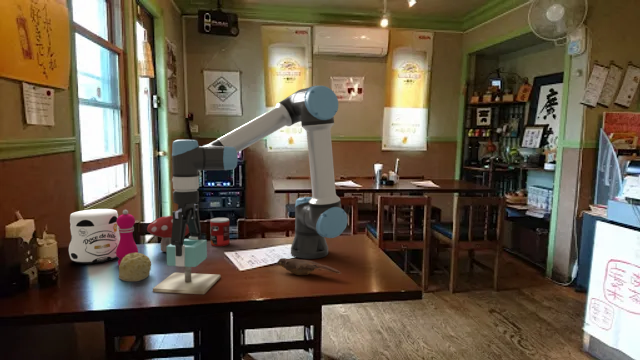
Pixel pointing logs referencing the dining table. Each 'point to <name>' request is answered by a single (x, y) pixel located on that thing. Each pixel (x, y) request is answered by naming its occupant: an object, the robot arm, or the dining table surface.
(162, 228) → the decorative mushroom
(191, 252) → the teal hollow square block
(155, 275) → the dining table surface
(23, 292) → the dining table surface
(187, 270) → the rod stand
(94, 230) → the dulce de leche jar
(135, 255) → the rock
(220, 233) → the canned food
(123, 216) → the pepper mill
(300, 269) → the bird sculpture
